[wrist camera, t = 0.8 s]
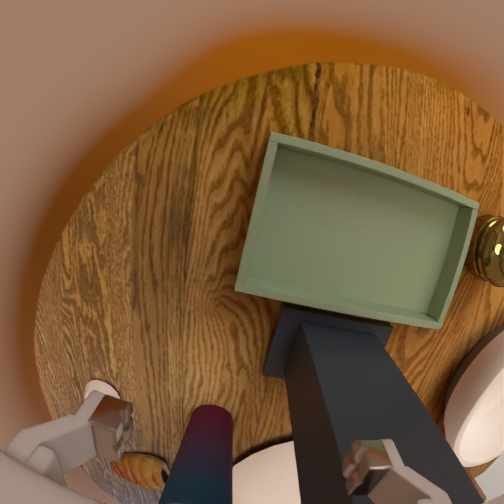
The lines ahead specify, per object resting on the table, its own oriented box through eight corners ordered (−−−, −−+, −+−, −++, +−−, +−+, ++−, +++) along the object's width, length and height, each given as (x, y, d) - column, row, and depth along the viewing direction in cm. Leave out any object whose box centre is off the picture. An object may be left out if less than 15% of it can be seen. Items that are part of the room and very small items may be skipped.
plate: (188, 476, 36) (187, 484, 35) (331, 398, 33) (334, 407, 31) (291, 527, 40) (292, 533, 38) (411, 467, 36) (414, 474, 35)
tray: (269, 136, 27) (271, 131, 24) (463, 200, 27) (479, 203, 24) (236, 279, 30) (233, 290, 27) (427, 318, 30) (440, 330, 27)
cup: (184, 433, 34) (158, 526, 20) (184, 394, 33) (152, 496, 18) (237, 440, 34) (229, 538, 20) (243, 403, 33) (236, 510, 18)
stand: (282, 302, 30) (333, 588, 5) (389, 322, 30) (535, 513, 5) (262, 369, 32) (266, 616, 6) (363, 383, 32) (448, 579, 7)
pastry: (121, 472, 37) (115, 488, 33) (106, 445, 36) (98, 462, 32) (176, 479, 37) (171, 497, 33) (164, 452, 35) (158, 471, 32)
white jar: (83, 394, 33) (115, 414, 34) (74, 407, 31) (108, 428, 31) (92, 371, 32) (126, 392, 33) (81, 384, 30) (118, 407, 30)
